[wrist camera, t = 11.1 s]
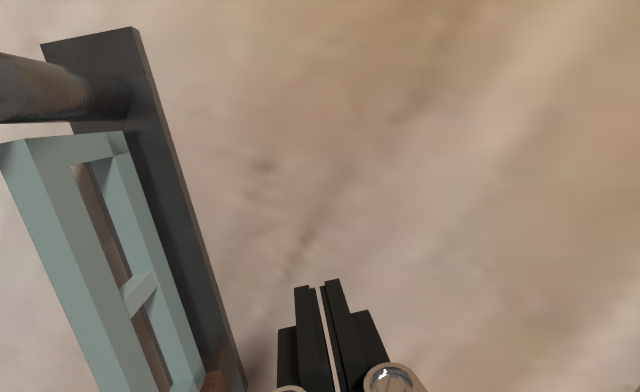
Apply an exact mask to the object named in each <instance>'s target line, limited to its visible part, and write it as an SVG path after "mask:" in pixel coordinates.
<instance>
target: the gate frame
mask: <svg viewBox="0 0 640 392" xmlns="http://www.w3.org/2000/svg"><path fill="white" fill-rule="evenodd" d="M40 47H41V49H42V52H43V54H44V57H45V60H46V62H43V61H38V60H34V59H29V58H24V57H19V56H15V55H10V54H5V53H1V52H0V124H18V123H56V122H70V125H71V128H72V130H73V133H74V135H76V134H88V133H100V132H112V131H123V134H124V137H125V140H126V143H127V146H128V149H129V152H130V155H131V158H132V160H133V163H134V166H135V169H136V172H137V175H138V178H139V181H140V184H141V187H142V189H143V192H144V195H145V198H146V201H147V204H148V207H149V210H150V213H151V216H152V218H153V221H154V224H155V227H156V230H157V233H158V236H159V239H160V242H161V245H162V247H163V250H164V253H165V256H166V259H167V262H168V265H169V268H170V271H171V274H172V276H173V279H174V282H175V285H176V288H177V291H178V294H179V297H180V300H181V303H182V305H183V308H184V311H185V314H186V317H187V320H188V323H189V326H190V329H191V332H192V335H193V337H194V340H195V343H196V346H197V349H198V352H199V355H200V358H201V361H202V364H203V366H204V369H205V372H206V376H205V379H204V382H203V384H202V387H201V390H200V392H247V387H248V384H247V380H246V377H245V374H244V371H243V367H242V364H241V361H240V358H239V354H238V351H237V348H236V345H235V342H234V338H233V335H232V332H231V329H230V325H229V322H228V319H227V316H226V312H225V309H224V306H223V303H222V299H221V296H220V293H219V290H218V286H217V283H216V280H215V277H214V273H213V270H212V267H211V264H210V260H209V257H208V254H207V251H206V248H205V244H204V241H203V238H202V235H201V231H200V228H199V225H198V222H197V218H196V215H195V212H194V209H193V205H192V202H191V199H190V196H189V192H188V189H187V186H186V183H185V179H184V176H183V173H182V170H181V166H180V163H179V160H178V157H177V154H176V150H175V147H174V144H173V141H172V137H171V134H170V131H169V128H168V124H167V121H166V118H165V115H164V111H163V108H162V105H161V102H160V98H159V95H158V92H157V89H156V85H155V82H154V79H153V76H152V73H151V69H150V66H149V63H148V60H147V56H146V53H145V50H144V47H143V43H142V40H141V37H140V34H139V30H137V29H135V28H133V27H126V28H121V29H115V30H110V31H105V32H100V33H95V34H90V35H85V36H80V37H75V38H70V39H65V40H60V41H55V42H50V43H45V44H40ZM85 164H86V167H87V169H88V172H89V175H90V177H91V180H92V183H93V185H94V188H95V190H96V193H97V196H98V198H99V201H100V203H101V206H102V209H103V211H104V214H105V217H106V219H107V222H108V224H109V227H110V230H111V232H112V235H113V237H114V240H115V243H116V245H117V248H118V251H119V253H120V256H121V258H122V261H123V264H124V266H125V269H126V271H127V274H128V277H129V279H130V278H131V277H132V276H133V274H132V272H131V269H130V266H129V264H128V261H127V258H126V256H125V253H124V251H123V248H122V245H121V243H120V240H119V237H118V235H117V232H116V229H115V227H114V224H113V221H112V219H111V216H110V214H109V211H108V208H107V206H106V203H105V200H104V198H103V195H102V192H101V190H100V187H99V184H98V182H97V179H96V177H95V174H94V171H93V169H92V166H91V163H90V161H89V162H85ZM140 308H141V311H142V313H143V316H144V319H145V321H146V324H147V326H148V329H149V332H150V334H151V337H152V339H153V342H154V345H155V347H156V350H157V353H158V355H159V358H160V360H161V363H162V366H163V368H164V371H165V373H166V376H167V379H168V381H169V384H170V387H172V385H173V380H172V377H171V375H170V372H169V370H168V367H167V364H166V362H165V359H164V356H163V354H162V351H161V348H160V346H159V343H158V340H157V338H156V335H155V333H154V330H153V327H152V325H151V322H150V319H149V317H148V314H147V311H146V309H145V306H144V303H143V305H142V306H141V307H140Z"/></svg>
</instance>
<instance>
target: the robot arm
mask: <svg viewBox="0 0 640 392" xmlns="http://www.w3.org/2000/svg"><path fill="white" fill-rule="evenodd" d="M324 282H325V286H320V291H321V296H322V301H323V306H324V311H325V316H326V321H327V326H328V331H329V336H330V341H331V346H332V351H333V356H334V361H335V366H336V371H337V376H338V381H339V386H340V391H341V392H427V390H426V389H425V387H424V386H423V384H422V383H421V382H420V380H419V379H418V377H417V376H416V375H415V374H414V373H413V371H412V370H411V369H409V368H408V367H406V366H404V365H402V364H398V363H392V362H390V360H389V357H388V355H387V353H386V350H385V348H384V346H383V343H382V341H381V338H380V336H379V334H378V331H377V329H376V327H375V324H374V322H373V320H372V317H371V315H370V313H369V311H368V310H364V311H359V312H355V313H350V311H349V308H348V305H347V302H346V299H345V296H344V293H343V290H342V287H341V284H340V281H339V278H338V279H333V280H329V281H324ZM294 297H295V314H296V326H292V327H287V328H283V329H279V330H278V360H277V389H276V390H274V391H272V392H335V386H334V381H333V376H332V370H331V365H330V359H329V354H328V349H327V344H326V339H325V334H324V329H323V325H322V320H321V315H320V310H319V305H318V300H317V295H316V290H315V288H311V289H309V285H306V286H301V287H296V288H294Z"/></svg>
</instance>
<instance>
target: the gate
mask: <svg viewBox="0 0 640 392" xmlns="http://www.w3.org/2000/svg"><path fill="white" fill-rule="evenodd" d="M89 161H90V163H91V166H92V169H93V171H94V174H95V177H96V179H97V182H98V184H99V187H100V190H101V192H102V195H103V198H104V200H105V203H106V206H107V208H108V211H109V214H110V216H111V219H112V221H113V224H114V227H115V229H116V232H117V235H118V237H119V240H120V243H121V245H122V248H123V251H124V253H125V256H126V258H127V261H128V264H129V266H130V269H131V272H132V274H133V276H132V277H131V278H130V279H129V280H128V281H127V282H126V283H125V284H124V285H123V286H122V287H121V288H120V289H119V290H118V287H117V285H116V282H115V279H114V277H113V274H112V272H111V269H110V267H109V264H108V262H107V259H106V257H105V254H104V252H103V249H102V247H101V244H100V242H99V239H98V237H97V234H96V231H95V229H94V226H93V224H92V221H91V219H90V216H89V214H88V211H87V209H86V206H85V204H84V201H83V199H82V196H81V194H80V191H79V188H78V186H77V183H76V181H75V178H74V176H73V173H72V171H71V168H70V166H71V165H76V164H80V163H85V162H89ZM0 170H1V172H2V175H3V177H4V179H5V181H6V184H7V186H8V188H9V190H10V192H11V195H12V197H13V199H14V201H15V203H16V206H17V208H18V210H19V212H20V215H21V217H22V219H23V221H24V223H25V226H26V228H27V230H28V232H29V234H30V237H31V239H32V241H33V243H34V246H35V248H36V250H37V252H38V254H39V257H40V259H41V261H42V263H43V266H44V268H45V270H46V272H47V274H48V277H49V279H50V281H51V283H52V285H53V288H54V290H55V292H56V294H57V297H58V299H59V301H60V303H61V305H62V308H63V310H64V312H65V314H66V316H67V319H68V321H69V323H70V325H71V328H72V330H73V332H74V334H75V336H76V339H77V341H78V343H79V345H80V348H81V350H82V352H83V354H84V356H85V359H86V361H87V363H88V365H89V367H90V370H91V372H92V374H93V376H94V379H95V381H96V383H97V385H98V387H99V390H100V392H159V391H158V388H157V386H156V383H155V381H154V378H153V376H152V373H151V371H150V368H149V365H148V363H147V360H146V358H145V355H144V353H143V350H142V348H141V345H140V343H139V340H138V338H137V335H136V333H135V330H134V328H133V325H132V322H131V320H130V319H131V318H132V317H133V315H134V314H135V313H136V312H137V311H138V309H139V308H140V307H141V306H142V305H143V303H144V306H145V309H146V311H147V314H148V317H149V319H150V322H151V325H152V327H153V330H154V333H155V335H156V338H157V340H158V343H159V346H160V348H161V351H162V354H163V356H164V359H165V362H166V364H167V367H168V370H169V372H170V375H171V377H172V380H173V385H172V387H171V389H170V391H169V392H200V390H201V387H202V384H203V382H204V379H205V376H206V372H205V369H204V366H203V364H202V361H201V358H200V355H199V352H198V349H197V346H196V343H195V340H194V337H193V335H192V332H191V329H190V326H189V323H188V320H187V317H186V314H185V311H184V308H183V305H182V303H181V300H180V297H179V294H178V291H177V288H176V285H175V282H174V279H173V276H172V274H171V271H170V268H169V265H168V262H167V259H166V256H165V253H164V250H163V247H162V245H161V242H160V239H159V236H158V233H157V230H156V227H155V224H154V221H153V218H152V216H151V213H150V210H149V207H148V204H147V201H146V198H145V195H144V192H143V189H142V187H141V184H140V181H139V178H138V175H137V172H136V169H135V166H134V163H133V160H132V158H131V155H130V152H129V149H128V146H127V143H126V140H125V137H124V134H123V131H112V132H100V133H88V134H76V135H64V136H52V137H39V138H27V139H21V140H16V141H11V142H6V143H1V144H0Z"/></svg>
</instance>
